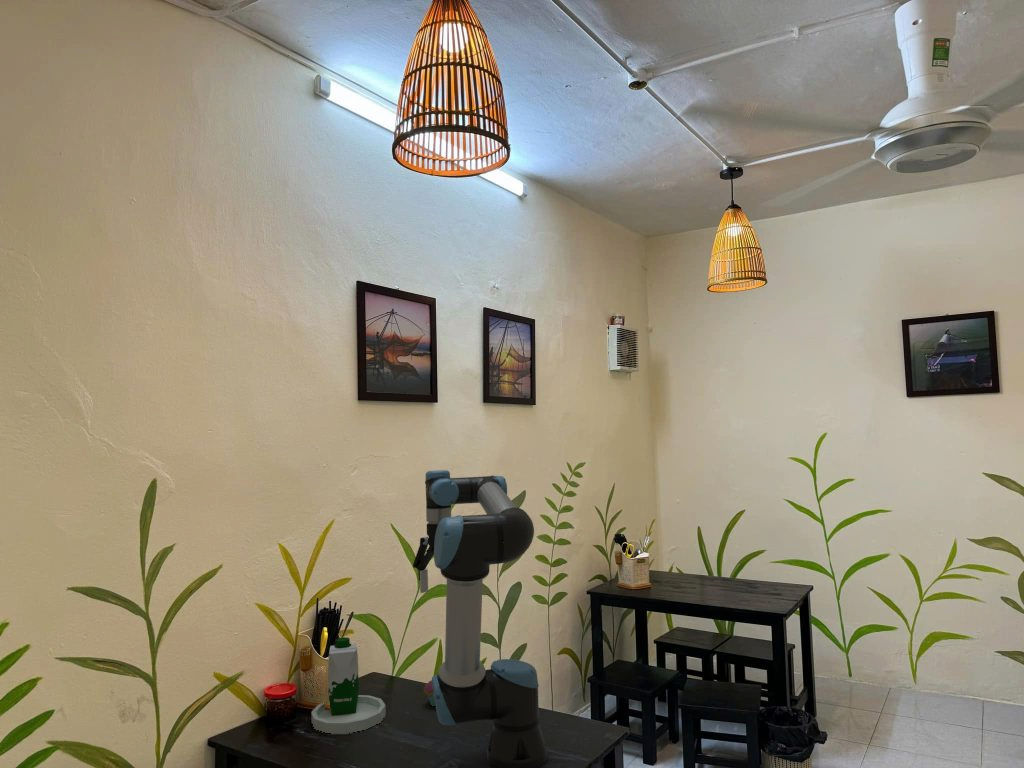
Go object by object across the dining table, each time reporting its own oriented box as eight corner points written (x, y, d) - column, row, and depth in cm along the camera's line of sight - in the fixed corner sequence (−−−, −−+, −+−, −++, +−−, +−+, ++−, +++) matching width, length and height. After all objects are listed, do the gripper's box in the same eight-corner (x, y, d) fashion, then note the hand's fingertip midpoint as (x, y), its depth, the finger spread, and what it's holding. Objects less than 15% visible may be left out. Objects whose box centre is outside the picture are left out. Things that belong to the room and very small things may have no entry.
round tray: (399, 714, 209) (398, 703, 209) (345, 740, 192) (345, 728, 192) (352, 700, 221) (351, 690, 221) (297, 724, 204) (297, 713, 204)
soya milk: (359, 702, 215) (357, 635, 217) (359, 714, 207) (357, 644, 208) (329, 706, 214) (328, 638, 215) (328, 717, 205) (326, 647, 206)
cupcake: (457, 701, 217) (456, 661, 218) (440, 711, 210) (439, 670, 210) (435, 697, 221) (434, 657, 222) (418, 706, 214) (417, 666, 215)
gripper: (479, 522, 209) (481, 595, 207) (417, 519, 223) (419, 587, 222) (462, 525, 203) (465, 601, 201) (400, 521, 217) (402, 592, 215)
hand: (441, 594), depth 211 cm, fingers open, 13 cm apart
